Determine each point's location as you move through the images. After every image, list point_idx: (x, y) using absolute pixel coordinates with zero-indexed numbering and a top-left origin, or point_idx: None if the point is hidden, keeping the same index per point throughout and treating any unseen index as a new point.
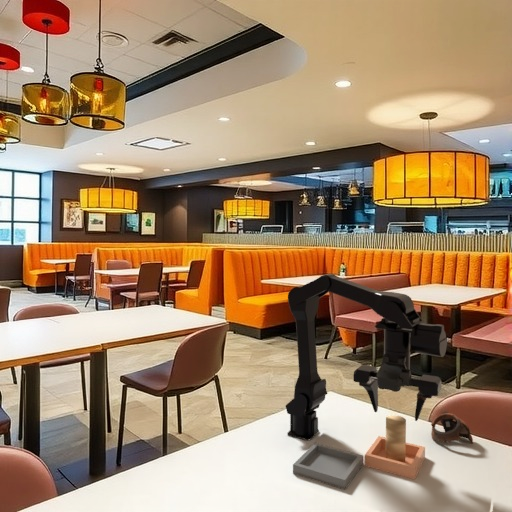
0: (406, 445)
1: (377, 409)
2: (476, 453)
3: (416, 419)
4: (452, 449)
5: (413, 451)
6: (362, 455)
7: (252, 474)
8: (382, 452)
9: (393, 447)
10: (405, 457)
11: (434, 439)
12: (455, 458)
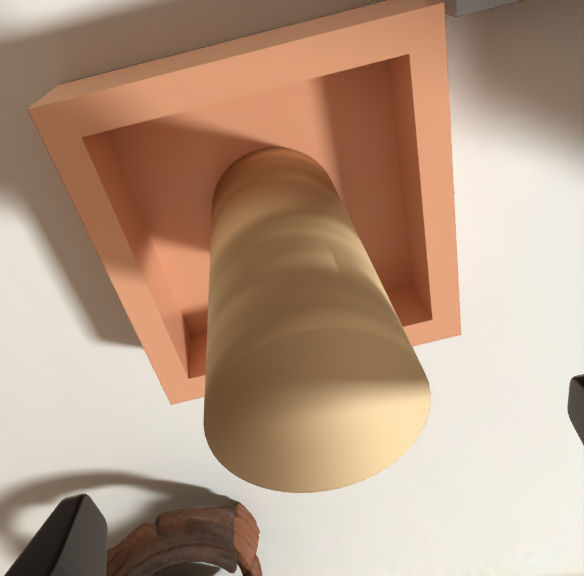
0: None
1: (577, 430)
2: None
3: (59, 510)
4: (141, 502)
5: None
6: (462, 8)
7: None
8: (387, 247)
9: (267, 200)
10: None
11: (224, 510)
12: (80, 452)
